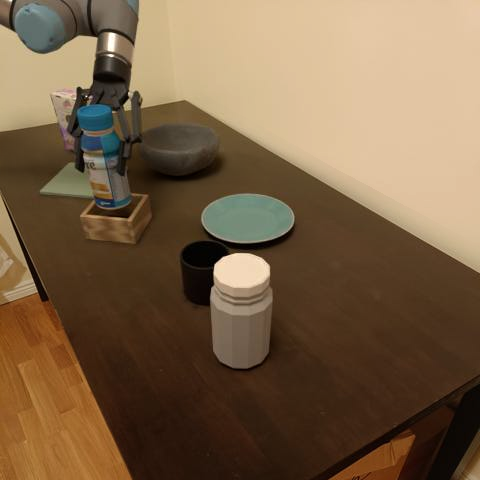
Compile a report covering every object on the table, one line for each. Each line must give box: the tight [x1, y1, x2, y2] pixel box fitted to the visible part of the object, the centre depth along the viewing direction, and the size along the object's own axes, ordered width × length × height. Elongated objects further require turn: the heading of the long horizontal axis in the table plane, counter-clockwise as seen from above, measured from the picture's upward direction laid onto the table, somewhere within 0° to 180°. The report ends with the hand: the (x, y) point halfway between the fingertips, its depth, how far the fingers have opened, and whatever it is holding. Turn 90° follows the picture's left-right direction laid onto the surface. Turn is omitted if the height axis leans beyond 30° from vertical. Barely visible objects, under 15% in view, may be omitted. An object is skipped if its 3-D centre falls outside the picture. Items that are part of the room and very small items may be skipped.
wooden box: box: [79, 192, 153, 245], centre depth 101 cm, size 12×12×6 cm
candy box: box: [49, 88, 93, 153], centre depth 128 cm, size 14×6×16 cm, turn 58°
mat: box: [39, 161, 129, 200], centre depth 119 cm, size 18×18×1 cm
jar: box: [210, 252, 274, 370], centre depth 68 cm, size 10×10×18 cm
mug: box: [179, 239, 231, 306], centre depth 84 cm, size 9×12×9 cm
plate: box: [200, 193, 295, 245], centre depth 102 cm, size 22×22×3 cm
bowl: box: [135, 122, 220, 177], centre depth 122 cm, size 23×22×10 cm
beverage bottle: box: [77, 104, 132, 210], centre depth 91 cm, size 8×8×20 cm
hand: (99, 172), depth 90 cm, fingers closed on beverage bottle, 8 cm apart
